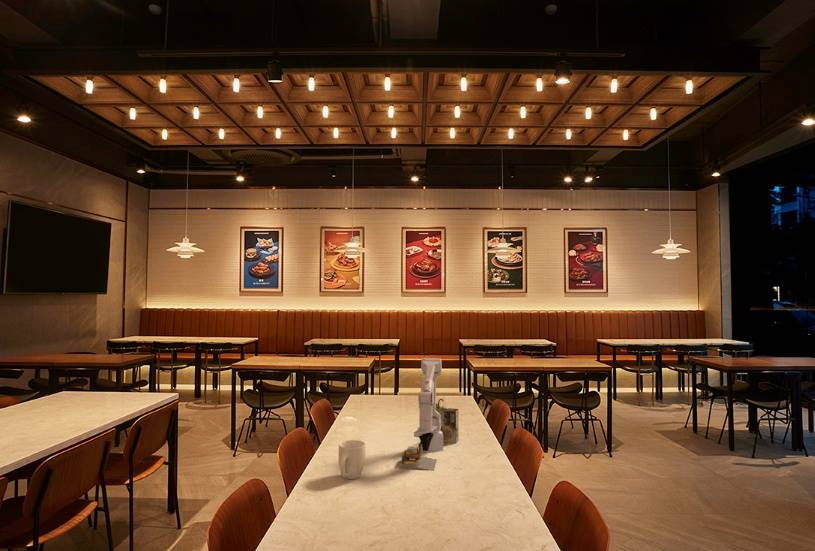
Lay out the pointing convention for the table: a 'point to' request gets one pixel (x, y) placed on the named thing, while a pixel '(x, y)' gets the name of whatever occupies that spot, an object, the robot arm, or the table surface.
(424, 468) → the dock
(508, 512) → the table surface
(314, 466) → the table surface
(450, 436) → the coffee box
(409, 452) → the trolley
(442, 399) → the plant
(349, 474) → the mug
